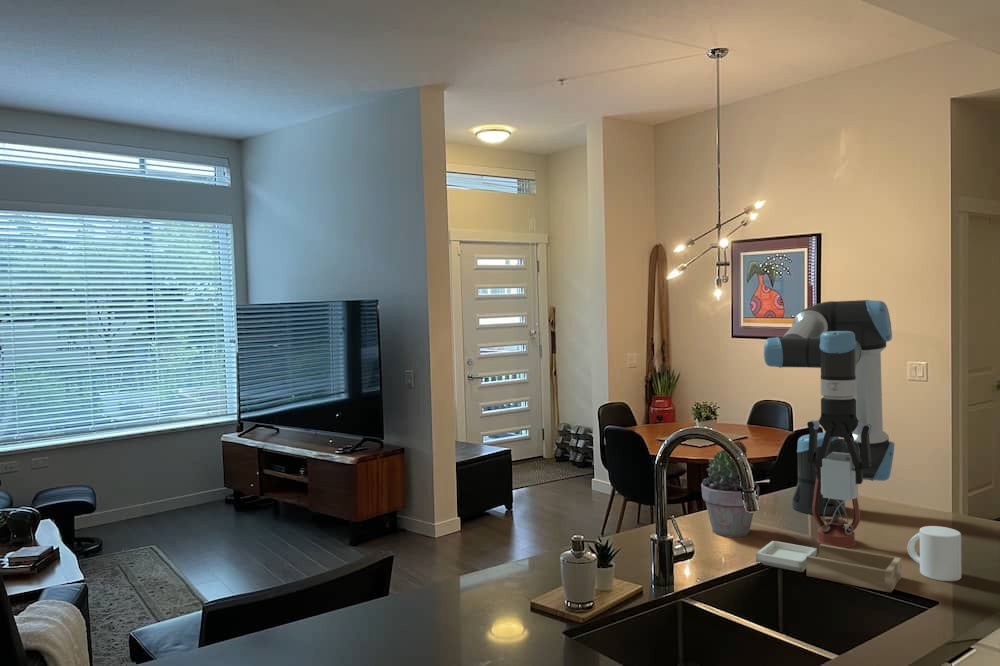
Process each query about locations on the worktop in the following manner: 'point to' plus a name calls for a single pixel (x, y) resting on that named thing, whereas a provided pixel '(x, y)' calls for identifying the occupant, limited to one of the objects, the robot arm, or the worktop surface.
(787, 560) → the tray
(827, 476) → the tall pale grey block
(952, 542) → the mug
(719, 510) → the potted plant
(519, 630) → the worktop surface
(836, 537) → the lantern
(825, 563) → the bay
